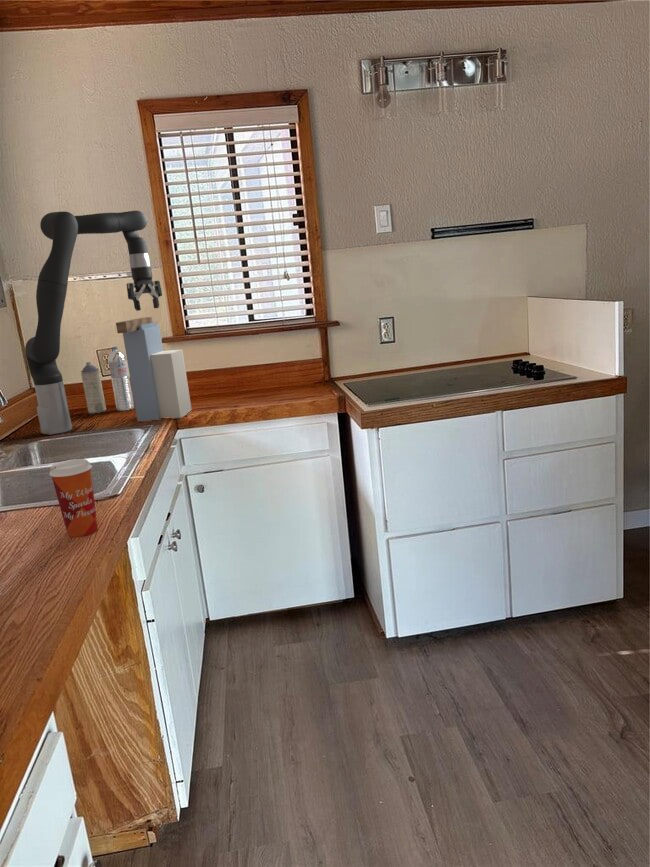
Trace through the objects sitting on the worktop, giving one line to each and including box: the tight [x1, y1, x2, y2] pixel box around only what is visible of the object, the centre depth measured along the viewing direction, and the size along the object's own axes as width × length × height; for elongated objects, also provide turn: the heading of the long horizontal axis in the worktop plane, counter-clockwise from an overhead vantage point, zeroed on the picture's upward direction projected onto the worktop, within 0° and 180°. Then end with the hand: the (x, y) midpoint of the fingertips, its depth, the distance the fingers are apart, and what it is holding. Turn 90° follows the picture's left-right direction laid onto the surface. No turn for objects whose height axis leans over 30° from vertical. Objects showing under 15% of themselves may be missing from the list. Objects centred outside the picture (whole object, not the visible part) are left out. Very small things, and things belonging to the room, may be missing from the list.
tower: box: [122, 321, 164, 422], centre depth 228 cm, size 13×8×34 cm, turn 171°
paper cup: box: [49, 458, 99, 538], centre depth 124 cm, size 8×8×14 cm
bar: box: [115, 316, 153, 334], centre depth 220 cm, size 21×4×4 cm, turn 171°
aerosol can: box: [80, 361, 107, 415], centre depth 251 cm, size 7×7×20 cm
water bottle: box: [107, 346, 135, 412], centre depth 250 cm, size 7×7×25 cm
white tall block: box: [151, 348, 193, 419], centre depth 229 cm, size 11×8×23 cm
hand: (147, 309), depth 247 cm, fingers open, 8 cm apart
